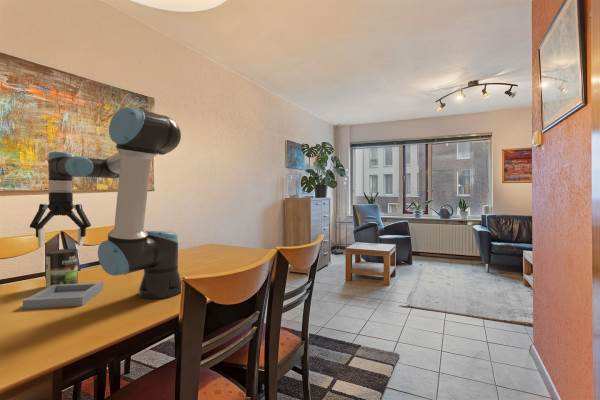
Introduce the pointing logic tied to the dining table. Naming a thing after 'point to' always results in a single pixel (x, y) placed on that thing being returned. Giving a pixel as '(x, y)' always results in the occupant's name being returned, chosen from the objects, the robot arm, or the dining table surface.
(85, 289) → the grey square tray
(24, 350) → the dining table surface
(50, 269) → the coffee can
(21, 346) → the dining table surface
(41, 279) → the dining table surface
